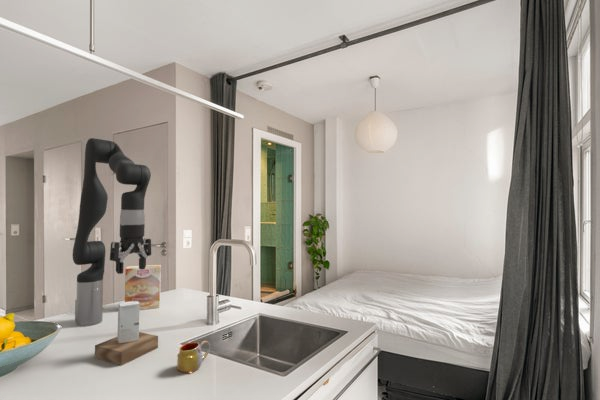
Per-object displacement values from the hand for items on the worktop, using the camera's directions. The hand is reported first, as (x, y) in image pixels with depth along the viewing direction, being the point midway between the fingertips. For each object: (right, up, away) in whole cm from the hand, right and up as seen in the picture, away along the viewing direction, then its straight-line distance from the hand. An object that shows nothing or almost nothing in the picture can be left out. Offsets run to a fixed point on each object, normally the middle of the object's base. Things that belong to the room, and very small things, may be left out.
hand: (131, 271), depth 114 cm
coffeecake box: (-17, -27, +46) cm, 56 cm away
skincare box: (+1, -22, -3) cm, 22 cm away
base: (0, -26, -3) cm, 26 cm away
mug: (+25, -26, -11) cm, 38 cm away
